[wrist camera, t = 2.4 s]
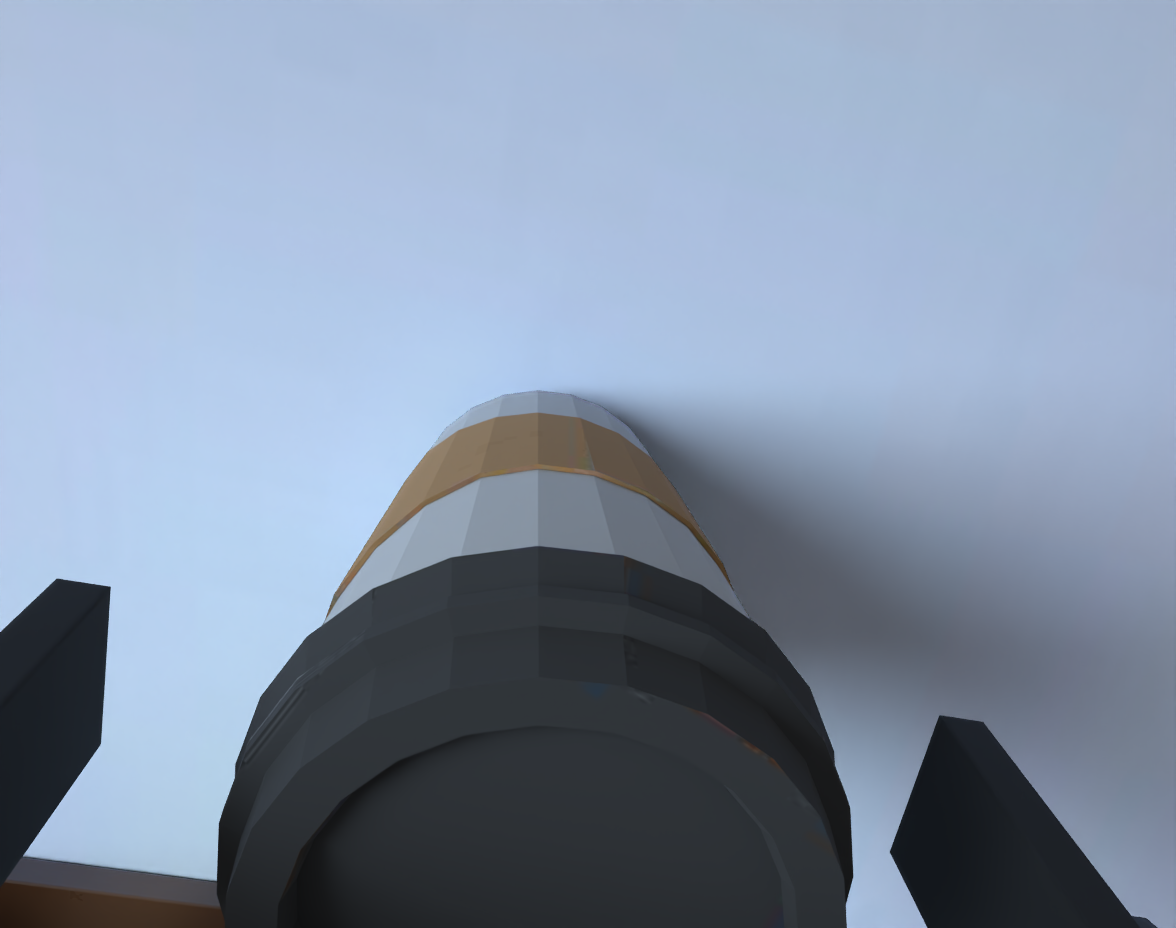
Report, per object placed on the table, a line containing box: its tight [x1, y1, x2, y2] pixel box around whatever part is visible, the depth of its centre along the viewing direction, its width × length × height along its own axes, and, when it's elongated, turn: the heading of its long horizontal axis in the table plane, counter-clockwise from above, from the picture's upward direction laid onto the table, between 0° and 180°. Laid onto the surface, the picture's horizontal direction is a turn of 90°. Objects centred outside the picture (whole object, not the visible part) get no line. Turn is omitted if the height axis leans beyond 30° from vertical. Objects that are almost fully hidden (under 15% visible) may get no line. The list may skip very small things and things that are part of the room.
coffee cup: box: [217, 390, 853, 928], centre depth 19 cm, size 8×8×15 cm
